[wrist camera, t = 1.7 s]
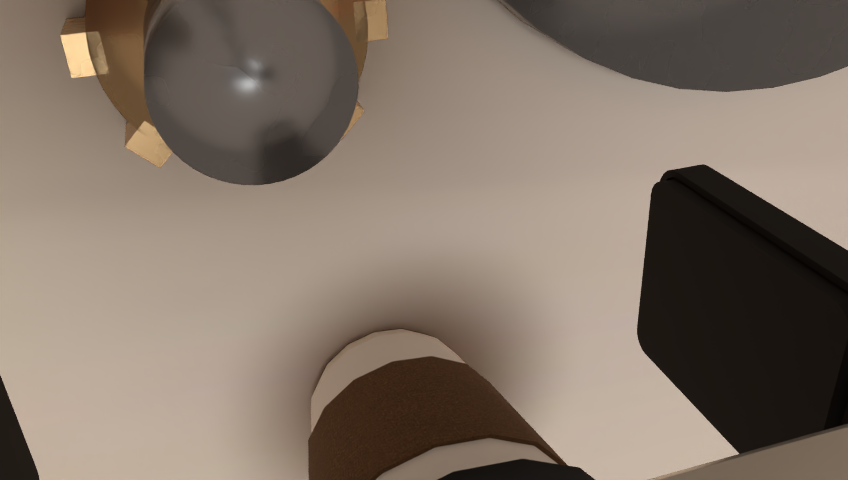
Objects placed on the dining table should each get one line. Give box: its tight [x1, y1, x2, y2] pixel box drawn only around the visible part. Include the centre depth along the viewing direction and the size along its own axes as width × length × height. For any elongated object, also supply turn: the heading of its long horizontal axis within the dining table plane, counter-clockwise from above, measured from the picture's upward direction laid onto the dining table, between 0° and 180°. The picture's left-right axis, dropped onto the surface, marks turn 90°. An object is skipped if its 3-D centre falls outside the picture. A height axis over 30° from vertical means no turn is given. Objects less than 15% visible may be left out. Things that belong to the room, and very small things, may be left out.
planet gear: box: [60, 0, 388, 185], centre depth 21 cm, size 9×9×7 cm
